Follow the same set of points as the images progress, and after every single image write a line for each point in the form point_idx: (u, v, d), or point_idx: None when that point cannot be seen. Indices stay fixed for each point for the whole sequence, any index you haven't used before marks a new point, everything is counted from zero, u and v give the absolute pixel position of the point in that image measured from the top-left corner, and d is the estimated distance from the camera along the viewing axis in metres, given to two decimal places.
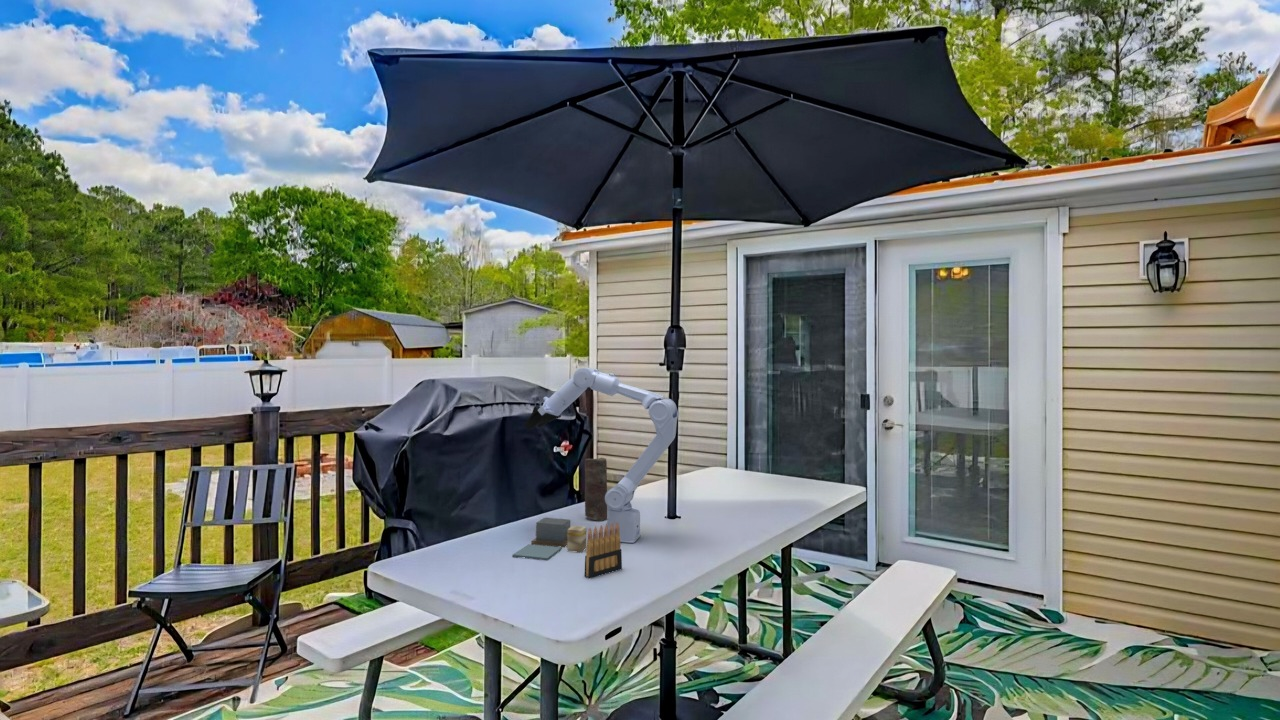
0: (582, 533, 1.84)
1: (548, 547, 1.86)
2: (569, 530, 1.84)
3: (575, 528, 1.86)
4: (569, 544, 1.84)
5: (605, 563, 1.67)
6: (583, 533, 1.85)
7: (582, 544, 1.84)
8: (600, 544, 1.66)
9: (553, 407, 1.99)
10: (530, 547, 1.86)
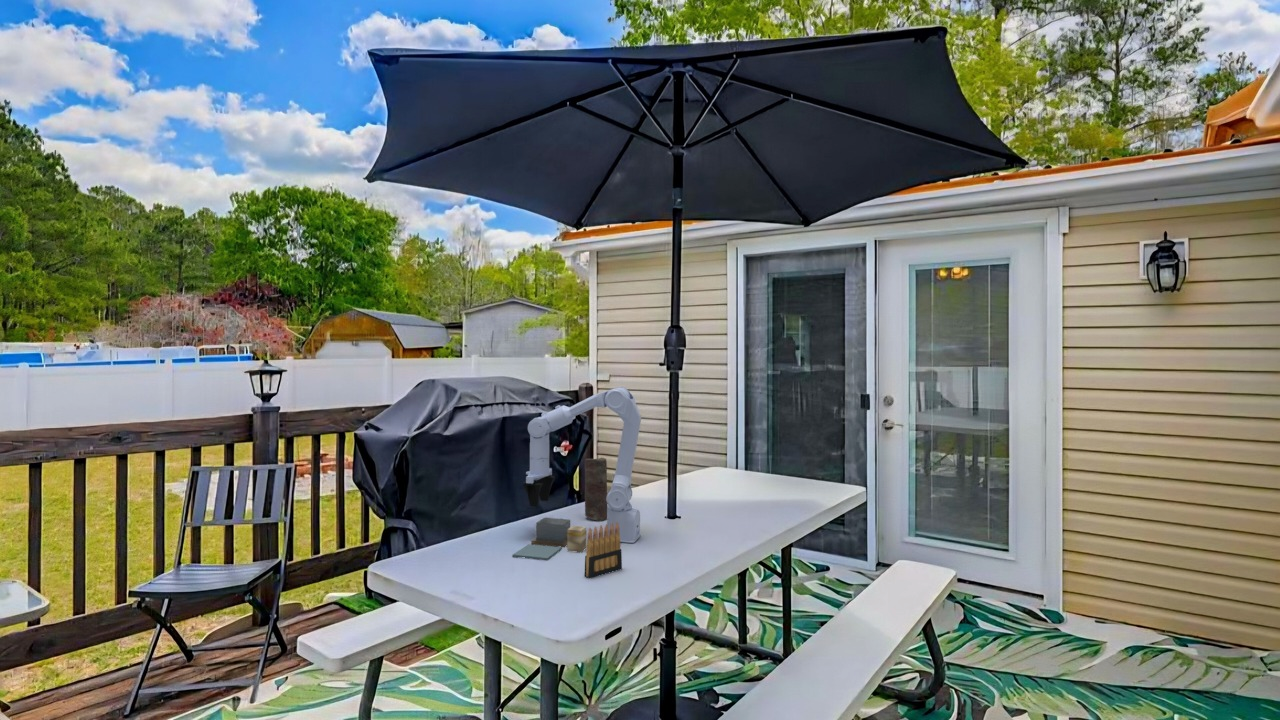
0: (582, 533, 1.84)
1: (548, 547, 1.86)
2: (569, 530, 1.84)
3: (575, 528, 1.86)
4: (569, 544, 1.84)
5: (605, 563, 1.67)
6: (583, 533, 1.85)
7: (582, 544, 1.84)
8: (600, 544, 1.66)
9: (537, 472, 1.97)
10: (530, 547, 1.86)
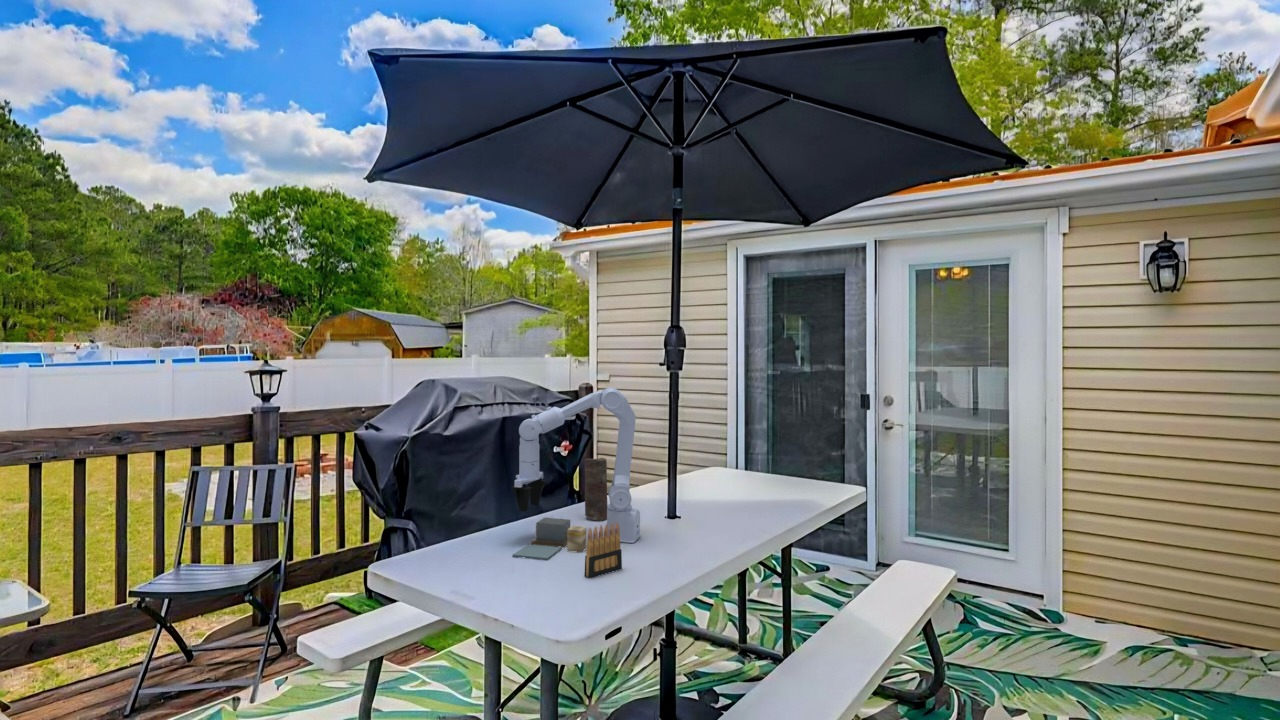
0: (582, 533, 1.84)
1: (548, 547, 1.86)
2: (569, 530, 1.84)
3: (575, 528, 1.86)
4: (569, 544, 1.84)
5: (605, 563, 1.67)
6: (583, 533, 1.85)
7: (582, 544, 1.84)
8: (600, 544, 1.66)
9: (527, 475, 1.92)
10: (530, 547, 1.86)
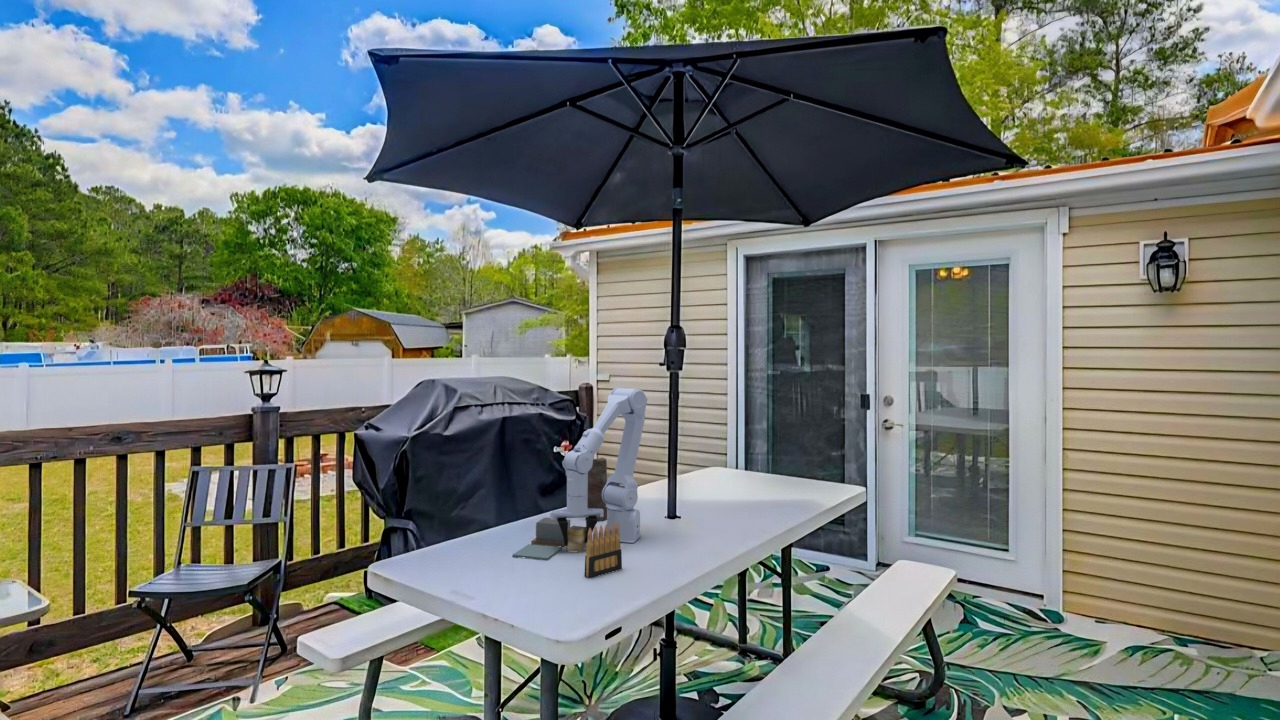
0: (582, 533, 1.84)
1: (548, 547, 1.86)
2: (569, 530, 1.84)
3: (575, 528, 1.86)
4: (569, 544, 1.84)
5: (605, 563, 1.67)
6: (583, 533, 1.85)
7: (582, 544, 1.84)
8: (600, 544, 1.66)
9: (567, 509, 1.84)
10: (530, 547, 1.86)
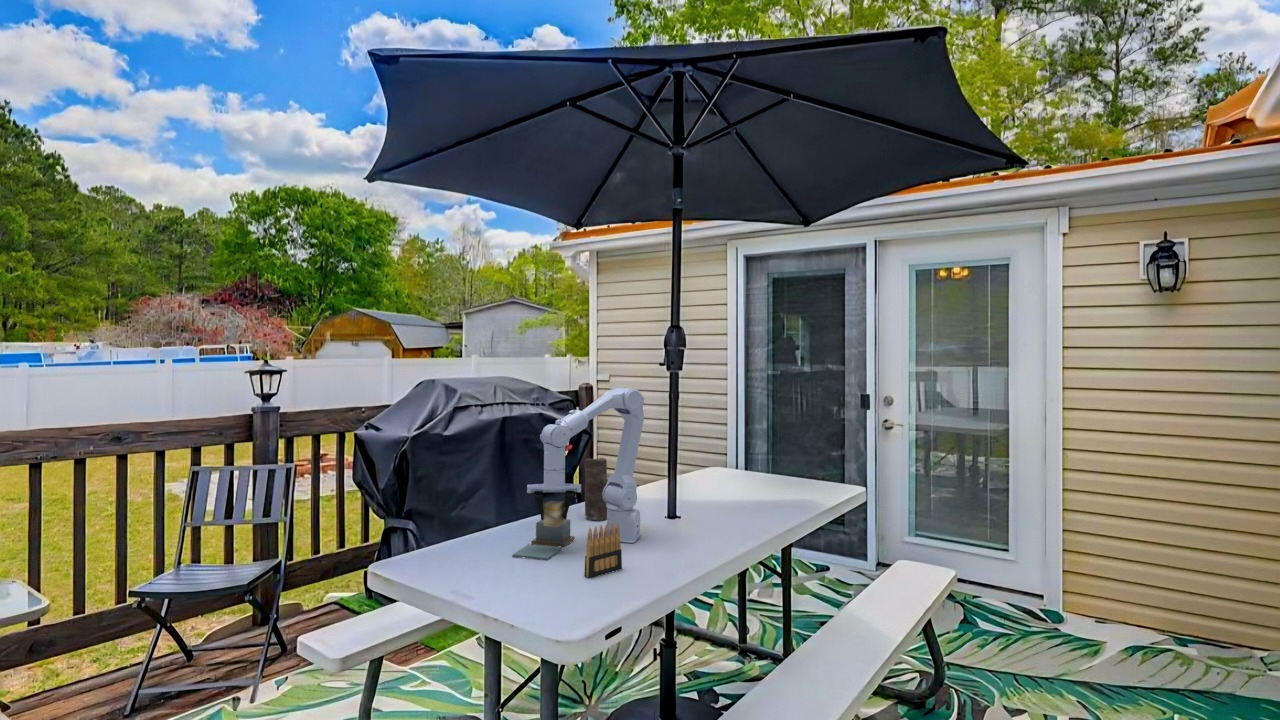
0: (558, 507, 1.82)
1: (548, 547, 1.86)
2: (545, 504, 1.82)
3: (552, 502, 1.83)
4: (545, 518, 1.82)
5: (605, 563, 1.67)
6: (560, 508, 1.83)
7: (558, 519, 1.82)
8: (600, 544, 1.66)
9: (544, 483, 1.82)
10: (530, 547, 1.86)
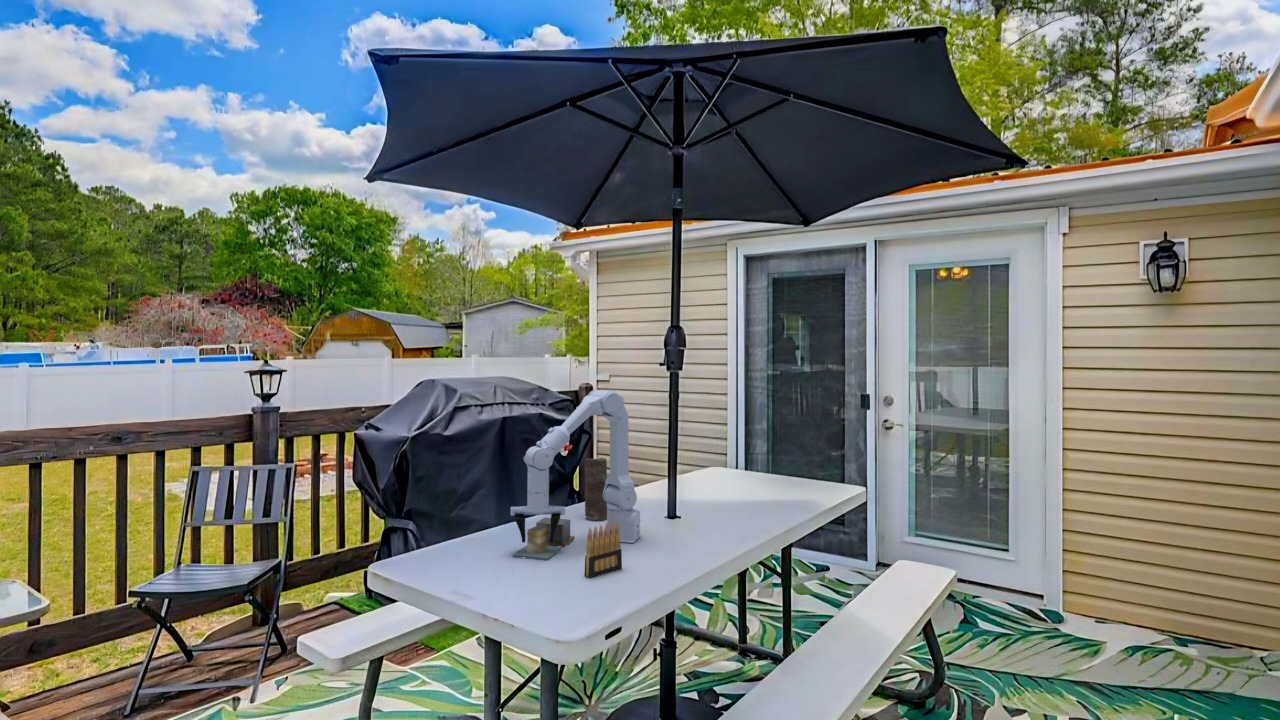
0: (542, 534, 1.80)
1: (548, 547, 1.86)
2: (529, 530, 1.81)
3: (536, 529, 1.82)
4: (529, 545, 1.81)
5: (605, 563, 1.67)
6: (543, 534, 1.81)
7: (542, 545, 1.81)
8: (600, 544, 1.66)
9: (527, 505, 1.81)
10: None
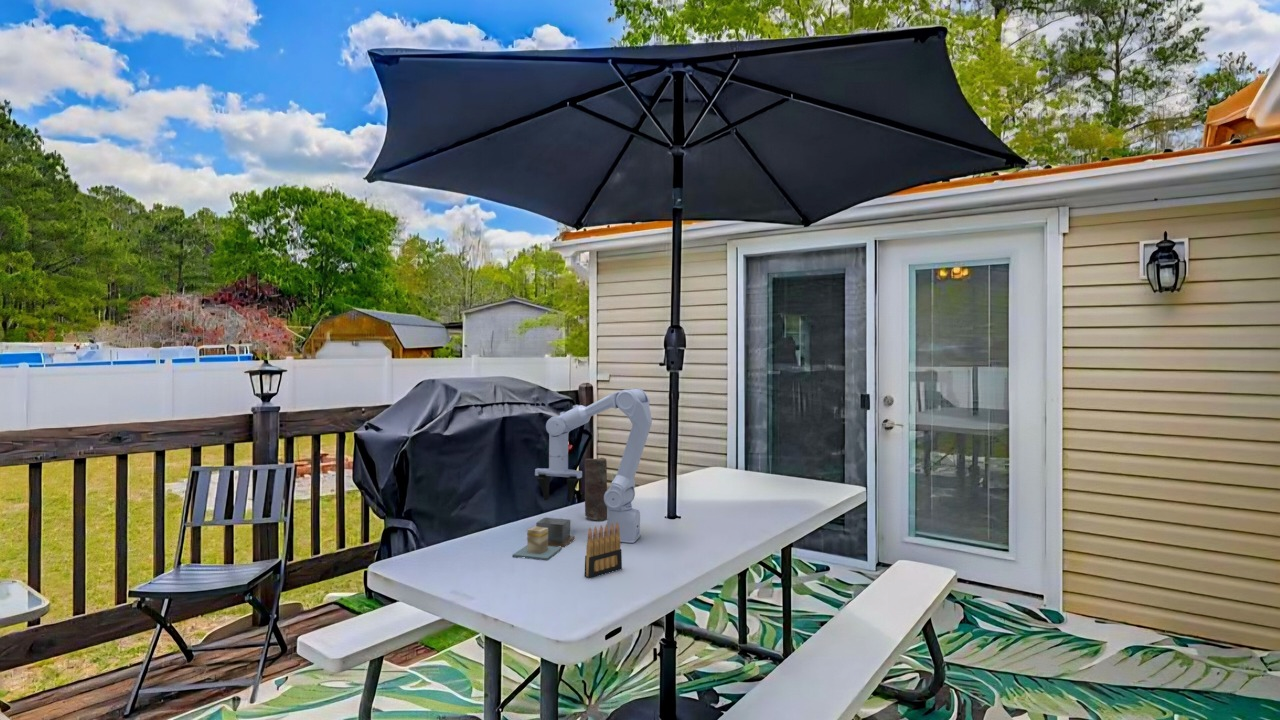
0: (542, 534, 1.80)
1: (548, 547, 1.86)
2: (529, 530, 1.81)
3: (536, 529, 1.82)
4: (529, 545, 1.81)
5: (605, 563, 1.67)
6: (543, 534, 1.81)
7: (542, 545, 1.81)
8: (600, 544, 1.66)
9: None
10: None
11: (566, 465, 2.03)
